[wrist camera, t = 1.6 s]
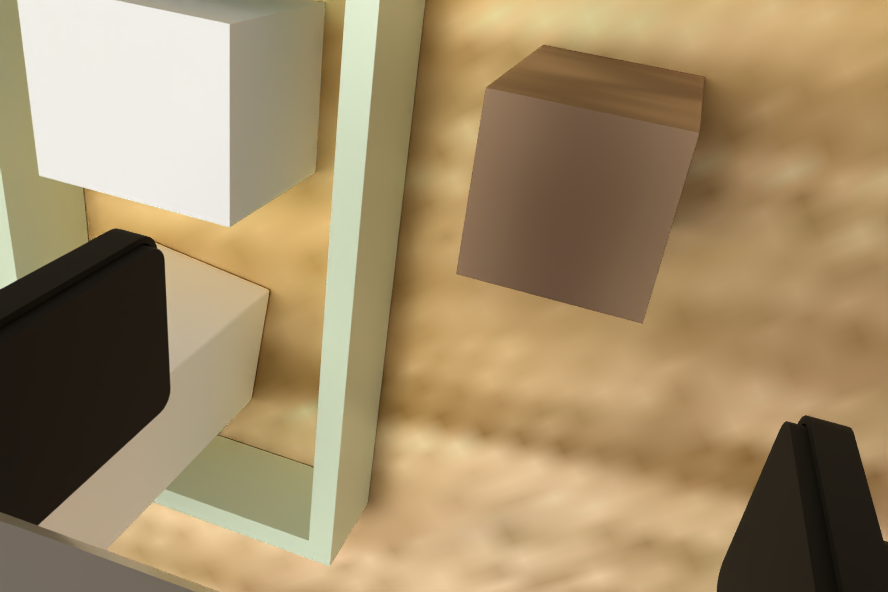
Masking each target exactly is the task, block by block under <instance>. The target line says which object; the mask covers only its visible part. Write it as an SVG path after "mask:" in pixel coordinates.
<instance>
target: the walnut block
mask: <svg viewBox="0 0 888 592" xmlns="http://www.w3.org/2000/svg"><path fill="white" fill-rule="evenodd" d="M704 80H705V77H703V76H698V75H693V74H688V73H683V72H678V71H673V70H668V69H663V68H658V67H653V66H648V65H643V64H637V63H632V62H627V61H622V60H617V59H612V58H607V57H602V56H597V55H592V54H587V53H582V52H577V51H572V50H566V49H561V48H556V47H551V46H546V45H542V46H541V47H540V48H538V49H537V50H536V51H534V52H533V53H532V54H530V55H529V56H528V57H526V58H525V59H524V60H522V61H521V62H520V63H518V64H517V65H516V66H514V67H513V68H512V69H510V70H509V71H508V72H506V73H505V74H504V75H502V76H501V77H499V78H498V79H497V80H495V81H494V82H493V83H491V84H490V85H489V86H487V87H486V90H485V96H484V103H483V109H482V115H481V121H480V128H479V134H478V140H477V147H476V153H475V159H474V166H473V172H472V178H471V184H470V191H469V197H468V203H467V210H466V216H465V222H464V228H463V235H462V241H461V247H460V254H459V260H458V266H457V272H456V274H458V275H462V276H466V277H469V278H473V279H477V280H481V281H484V282H488V283H492V284H496V285H499V286H503V287H507V288H511V289H514V290H518V291H522V292H526V293H529V294H533V295H537V296H541V297H544V298H548V299H552V300H556V301H559V302H563V303H567V304H571V305H574V306H578V307H582V308H586V309H589V310H593V311H597V312H601V313H604V314H608V315H612V316H616V317H619V318H623V319H627V320H631V321H634V322H638V323H642V324H643V320H644V317H645V314H646V310H647V307H648V304H649V300H650V297H651V294H652V290H653V287H654V284H655V280H656V277H657V274H658V270H659V267H660V264H661V260H662V257H663V253H664V250H665V247H666V243H667V240H668V237H669V233H670V230H671V227H672V223H673V220H674V217H675V213H676V210H677V207H678V203H679V200H680V197H681V193H682V190H683V187H684V183H685V180H686V177H687V173H688V170H689V166H690V163H691V160H692V156H693V153H694V150H695V146H696V143H697V140H698V136H699V133H700V123H701V112H702V101H703V90H704Z"/></svg>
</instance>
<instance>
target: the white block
mask: <svg viewBox="0 0 888 592" xmlns="http://www.w3.org/2000/svg"><path fill="white" fill-rule="evenodd" d="M17 2H18V10H19V19H20V27H21V35H22V43H23V51H24V59H25V67H26V75H27V83H28V91H29V99H30V107H31V115H32V123H33V131H34V139H35V147H36V155H37V163H38V171H39V176H42V177H46V178H50V179H54V180H57V181H61V182H65V183H68V184H72V185H76V186H79V187H83V188H87V189H90V190H94V191H98V192H102V193H105V194H109V195H113V196H116V197H120V198H124V199H127V200H131V201H135V202H138V203H142V204H146V205H150V206H153V207H157V208H161V209H164V210H168V211H172V212H175V213H179V214H183V215H186V216H190V217H194V218H198V219H201V220H205V221H209V222H212V223H216V224H220V225H223V226H227V227H231V226H232V225H234V224H235V223H237V222H239V221H240V220H242V219H243V218H245V217H246V216H248V215H249V214H251V213H253V212H254V211H256V210H257V209H259V208H260V207H262V206H264V205H265V204H267V203H268V202H270V201H271V200H273V199H275V198H276V197H278V196H279V195H281V194H282V193H284V192H285V191H287V190H289V189H290V188H292V187H293V186H295V185H296V184H298V183H300V182H301V181H303V180H304V179H306V178H307V177H309V176H310V175H312V174H314V173H315V172H316V160H317V143H318V125H319V107H320V89H321V72H322V54H323V36H324V18H325V2H322V1H316V0H17Z"/></svg>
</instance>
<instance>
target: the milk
mask: <svg viewBox="0 0 888 592" xmlns="http://www.w3.org/2000/svg"><path fill="white" fill-rule="evenodd" d="M156 245H157V249H159V250H161V251H162V253H163V255H164V260H165V279H166V300H167V322H168V344H169V366H170V387H171V389H170V396H169V400H168V402H167V404H166V406H165V408H164V409H163V410H162V412H161V413H160V414H159V415H158V416H156V417H155V418H154V419H153V420H152V421H151V422H150V423H149V424H148V425H147V426H146V427H144V428H143V429H142V430H141V431H140V432H139V433H138V434H137V435H136V436H135V437H134V438H133V439H131V440H130V441H129V442H128V443H127V444H126V445H125V446H124V447H123V448H122V449H121V450H119V451H118V452H117V453H116V454H115V455H114V456H113V457H112V458H111V459H110V460H109V461H108V462H106V463H105V464H104V465H103V466H102V467H101V468H100V469H99V470H98V471H97V472H96V473H94V474H93V475H92V476H91V477H90V478H89V479H88V480H87V481H86V482H85V483H84V484H83V485H81V486H80V487H79V488H78V489H77V490H76V491H75V492H74V493H73V494H72V495H71V496H69V497H68V498H67V499H66V500H65V501H64V502H63V503H62V504H61V505H60V506H59V507H58V508H56V509H55V510H54V511H53V512H52V513H51V514H50V515H49V516H48V517H47V518H46V519H44V520H43V521H42V522H41V523H40V524H39V525H38V526H40V527H43V528H46V529H48V530H51V531H54V532H57V533H59V534H62V535H65V536H68V537H71V538H73V539H76V540H79V541H82V542H84V543H87V544H90V545H93V546H96V547H98V548H101V549H104V550H107V549H108V548H109V547H110V546H111V545H112V543H113V542H114V541H115V540H116V539H117V538H118V537H119V536H120V535H121V534H122V533H123V532H124V531H125V530H126V529H127V528H128V527H129V526H130V525H131V524H132V523H133V522H134V521H135V520H136V519H137V518H138V517H139V515H140V514H141V513H142V512H143V511H144V510H145V509H146V508H147V507H148V506H149V505H150V504H151V503H152V502H153V501H154V500H155V499H156V498H157V497H158V496H159V495H160V494H161V493H162V492H163V491H164V490H165V489H166V488H167V486H168V485H169V484H170V483H171V482H172V481H173V480H174V479H175V478H176V477H177V476H178V475H179V474H180V473H181V472H182V471H183V470H184V469H185V468H186V467H187V466H188V465H189V464H190V463H191V462H192V461H193V460H194V459H195V457H196V456H197V455H198V454H199V453H200V452H201V451H202V450H203V449H204V448H205V447H206V446H207V445H208V444H209V443H210V442H211V441H212V440H213V439H214V438H215V437H216V436H217V435H218V434H219V433H220V432H221V431H222V429H223V428H224V427H225V426H226V425H227V424H228V423H229V422H230V421H231V420H232V419H233V418H234V417H235V416H236V415H237V414H238V413H239V412H240V411H241V410H242V409H243V408H244V407H245V406H246V405H247V404H248V403H249V401H250V400H251V398H252V393H253V387H254V381H255V375H256V369H257V363H258V357H259V351H260V345H261V339H262V333H263V327H264V321H265V315H266V309H267V303H268V297H269V290H268V289H266V288H264V287H261V286H259V285H257V284H254V283H252V282H249V281H247V280H244V279H242V278H240V277H237V276H235V275H232V274H230V273H228V272H225V271H223V270H220V269H218V268H216V267H213V266H211V265H208V264H206V263H203V262H201V261H199V260H196V259H194V258H191V257H189V256H187V255H184V254H182V253H179V252H177V251H174V250H172V249H170V248H167V247H165V246H162V245H160V244H158V243H156Z"/></svg>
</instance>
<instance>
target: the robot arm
mask: <svg viewBox="0 0 888 592" xmlns="http://www.w3.org/2000/svg"><path fill="white" fill-rule="evenodd" d="M170 389H171V387H170V366H169V344H168V322H167V300H166V279H165V260H164V255H163V253H162V251H161V250H159V249H157V245H156V243H155V241H154V240H153V239H152V238H150V237H147V236H144V235H140V234H136V233H133V232H129V231H125V230H122V229H112V230H110V231H108V232H106V233H104V234H102V235H100V236H98V237H96V238H95V239H93V240H91V241H89V242H87V243H85V244H83V245H82V246H80V247H78V248H76V249H74V250H72V251H70V252H69V253H67V254H65V255H63V256H61V257H59V258H57V259H56V260H54V261H52V262H50V263H48V264H46V265H44V266H43V267H41V268H39V269H37V270H35V271H33V272H31V273H30V274H28V275H26V276H24V277H22V278H20V279H18V280H16V281H15V282H13V283H11V284H9V285H7V286H5V287H3V288H2V289H0V592H219V591H216V590H213V589H211V588H208V587H205V586H202V585H200V584H197V583H194V582H191V581H189V580H186V579H183V578H181V577H178V576H175V575H172V574H170V573H167V572H164V571H161V570H159V569H156V568H153V567H150V566H148V565H145V564H142V563H140V562H137V561H134V560H131V559H129V558H126V557H123V556H120V555H118V554H115V553H112V552H109V551H107V550H104V549H101V548H98V547H96V546H93V545H90V544H87V543H84V542H82V541H79V540H76V539H73V538H71V537H68V536H65V535H62V534H59V533H57V532H54V531H51V530H48V529H46V528H43V527H40V526H38V525H39V524H40V523H41V522H42V521H43V520H44V519H46V518H47V517H48V516H49V515H50V514H51V513H52V512H53V511H54V510H55V509H56V508H58V507H59V506H60V505H61V504H62V503H63V502H64V501H65V500H66V499H67V498H68V497H69V496H71V495H72V494H73V493H74V492H75V491H76V490H77V489H78V488H79V487H80V486H81V485H83V484H84V483H85V482H86V481H87V480H88V479H89V478H90V477H91V476H92V475H93V474H94V473H96V472H97V471H98V470H99V469H100V468H101V467H102V466H103V465H104V464H105V463H106V462H108V461H109V460H110V459H111V458H112V457H113V456H114V455H115V454H116V453H117V452H118V451H119V450H121V449H122V448H123V447H124V446H125V445H126V444H127V443H128V442H129V441H130V440H131V439H133V438H134V437H135V436H136V435H137V434H138V433H139V432H140V431H141V430H142V429H143V428H144V427H146V426H147V425H148V424H149V423H150V422H151V421H152V420H153V419H154V418H155V417H156V416H158V415H159V414H160V413H161V412H162V410H163V409H164V408H165V406H166V404H167V402H168V400H169V396H170ZM717 592H888V542H886V541H883V537H882V534H881V530H880V526H879V523H878V519H877V516H876V512H875V508H874V505H873V501H872V497H871V494H870V490H869V487H868V483H867V479H866V476H865V472H864V469H863V465H862V461H861V458H860V454H859V450H858V447H857V443H856V440H855V436H854V433H853V431H852V429H851V428H850V427H847V426H843V425H840V424H836V423H832V422H829V421H825V420H821V419H818V418H814V417H810V416H807V415H805V416H803V417H802V418H801V419H800V421H799V422H798V424H795V423H791V422H787V421H786V422H784V424H783V425H782V427H781V429H780V431H779V433H778V435H777V437H776V440H775V442H774V444H773V447H772V449H771V451H770V454H769V456H768V458H767V461H766V463H765V465H764V468H763V470H762V472H761V475H760V477H759V479H758V482H757V484H756V486H755V489H754V491H753V493H752V496H751V498H750V500H749V502H748V505H747V507H746V509H745V512H744V514H743V516H742V519H741V521H740V523H739V526H738V528H737V530H736V533H735V535H734V537H733V540H732V542H731V544H730V547H729V549H728V551H727V554H726V556H725V558H724V561H723V563H722V566H721V569H720V573H719V578H718V584H717Z"/></svg>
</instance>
